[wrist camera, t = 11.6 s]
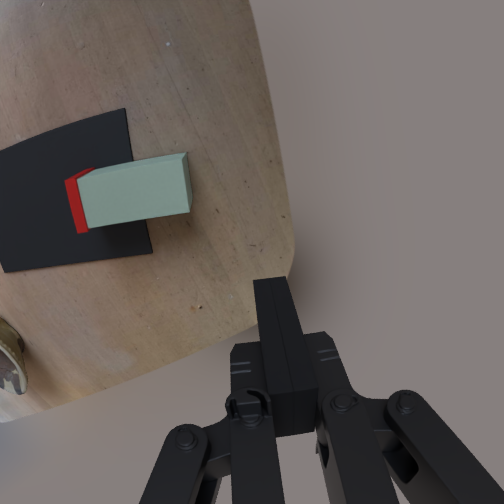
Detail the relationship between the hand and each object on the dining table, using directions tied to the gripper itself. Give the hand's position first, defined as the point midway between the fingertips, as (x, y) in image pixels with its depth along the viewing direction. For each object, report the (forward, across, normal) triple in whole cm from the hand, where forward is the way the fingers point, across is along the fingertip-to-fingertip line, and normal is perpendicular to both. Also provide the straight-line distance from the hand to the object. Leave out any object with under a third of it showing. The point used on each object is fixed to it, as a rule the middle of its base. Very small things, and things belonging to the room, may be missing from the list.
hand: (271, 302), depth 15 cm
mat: (+26, -29, +2) cm, 39 cm away
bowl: (+27, -52, -23) cm, 63 cm away
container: (+23, -7, +2) cm, 24 cm away
